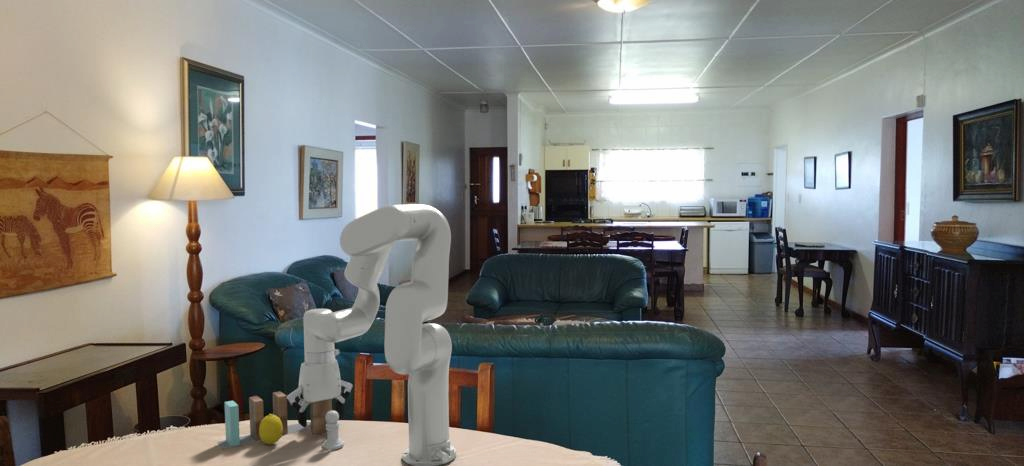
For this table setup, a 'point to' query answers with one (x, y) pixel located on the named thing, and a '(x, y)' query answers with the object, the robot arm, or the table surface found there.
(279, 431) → the lemon
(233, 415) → the domino end
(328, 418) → the chess piece
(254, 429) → the domino
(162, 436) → the table surface
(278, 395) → the domino
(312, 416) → the domino
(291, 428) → the grey flat board
